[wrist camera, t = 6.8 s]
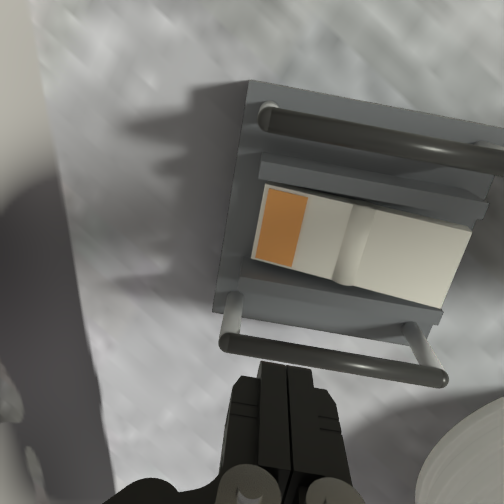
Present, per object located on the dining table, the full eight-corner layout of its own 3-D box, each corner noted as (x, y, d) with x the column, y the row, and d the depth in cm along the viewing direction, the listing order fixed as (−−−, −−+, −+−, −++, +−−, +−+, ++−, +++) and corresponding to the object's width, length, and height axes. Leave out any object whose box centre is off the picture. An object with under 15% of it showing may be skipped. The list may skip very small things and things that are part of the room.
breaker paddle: (466, 224, 24) (473, 234, 22) (436, 297, 26) (441, 311, 24) (270, 179, 26) (263, 184, 24) (256, 250, 28) (249, 260, 26)
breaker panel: (481, 123, 28) (585, 145, 19) (406, 319, 34) (456, 407, 25) (251, 79, 27) (242, 80, 18) (218, 286, 34) (199, 364, 25)
